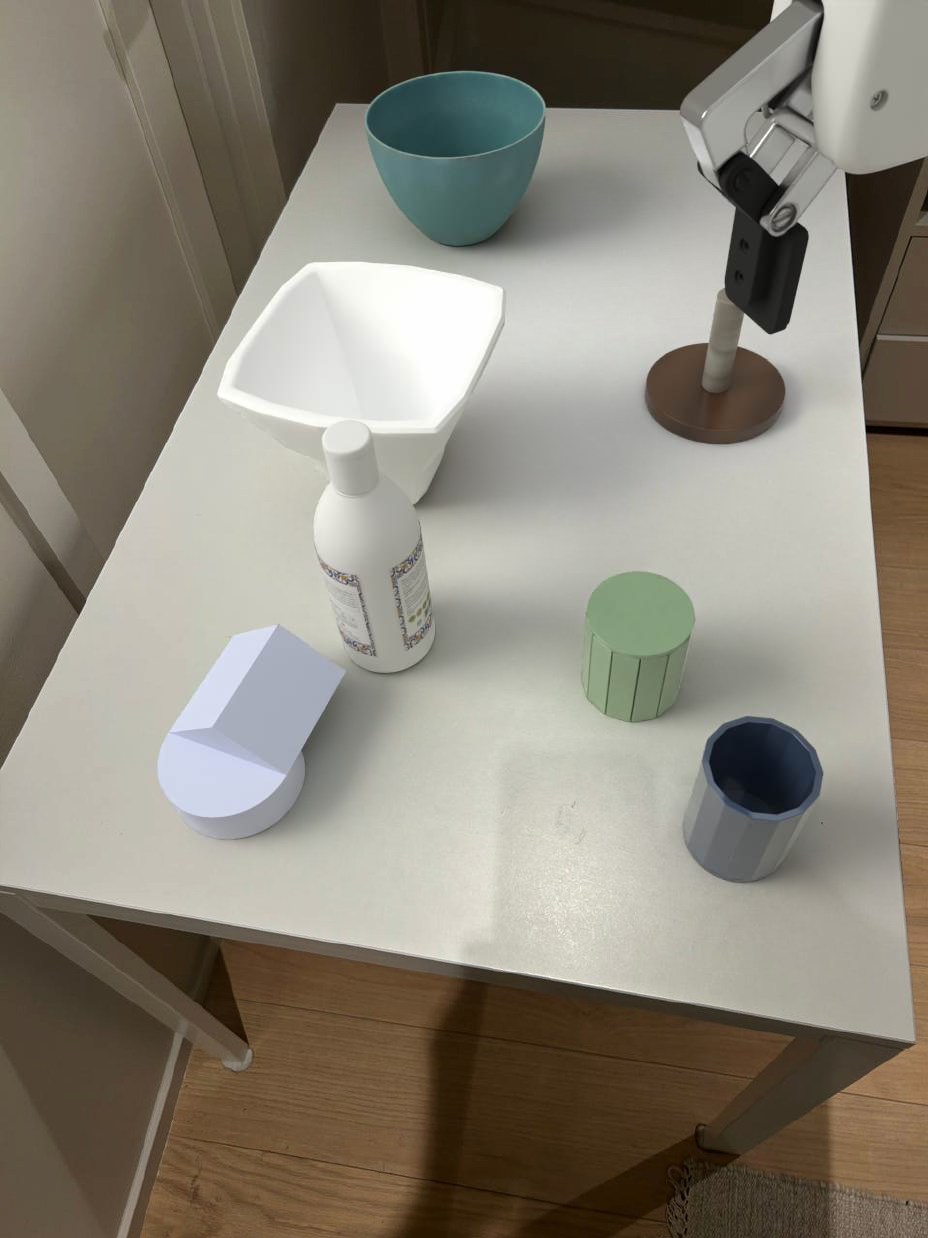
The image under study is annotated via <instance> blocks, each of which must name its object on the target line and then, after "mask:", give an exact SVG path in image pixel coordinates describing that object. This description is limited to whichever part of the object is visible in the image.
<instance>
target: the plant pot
mask: <svg viewBox="0 0 928 1238" xmlns="http://www.w3.org/2000/svg"><path fill="white" fill-rule="evenodd" d="M546 115H547V106H546V102H545V100H544V98H543V97H542V95H541V94H540V93H539V92H538V90H536V89H535V88H533V86H531V85H529V84H527V83H526V82H523V81H521V80H519V79H517V78H515V77H511V76H508V75H504V74H499V73H495V72H488V71H487V72H486V71H476V70H456V71H444V72H436V73H433V74H432V73H430V74H426V75H421V76H417V77H413V78H410V79H408V80H404V81H401V82H400V83H397V84H395V85H393V86H391V87H389V88H387V89H386V90H384V91H383V92H381V93H380V94H379V95H377V96H376V97H375V98H374V99H373V100H372V101H371V102H370V104H369V105H368V107H367V108H366V110H365V113H364V118H363V119H364V127H365V133H366V138H367V142H368V145H369V149H370V153H371V156H372V158H373V161H374V164H375V166H376V169H377V172H378V174H379V176H380V178H381V180H382V182H383V184H384V187H385V188H386V190H387V192H388V194H389V196H390V198H391V199H392V200H393V202H394V203H395V205H396V206H397V208H399V211H401V213H402V214H403V215H404V216H405V217H406V219H408V220H409V221H410V222H411V224H413V226H415V227H416V228H417V229H418V230H419V231H420V232H421V233H422V234H424V235H425V236H426V237H428V238H429V239H431V240H432V241H434V242H436V243H437V244H438V243H439V244H442V245H445V246H452V247H453V246H454V247H463V246H470V245H476V244H479V243H482V242H484V241H485V240H488V239H489V238H491V237H492V236H494V235H495V234H496V233H497V232H498V231H499V230H500V229H501V228H502V226H503V225H504V224H505V223H506V222H507V221H508V220H509V218H510V217H511V215H512V214H513V213H514V212H515V210H516V208H517V207H518V206H519V205H520V203H521V200H522V199H523V198H524V196H525V194H526V192H527V190H528V187H529V186H530V183H531V180H532V177H533V176H534V173H535V171H536V167H537V164H538V161H539V157H540V153H541V149H542V146H543V145H542V144H543V140H544V135H545V134H544V132H545V127H546V118H547V116H546Z"/></svg>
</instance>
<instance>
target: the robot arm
mask: <svg viewBox="0 0 928 1238" xmlns="http://www.w3.org/2000/svg"><path fill="white" fill-rule="evenodd" d="M760 109H761V114H762V117H763V118H764V119H765V120H764V121H763V123H762V124H761V126H760V127H759V128H758V130H757V131H756V133H755V134H754V135H753V137H752V138H751V139H750V141H749V142H748V138H747V127H748V124H749V122H750V120H751V118H752V117H753V116H754V115H755V114H756V112H758V111H759V110H760ZM679 118H680V121H681V123H682V126H683V129H684V131H685V134H686V136H687V139H688V142H689V145H690V147H691V150H692V152H693V154H694V156H695V157H696V158H697V162H696V166H697V171H698V173H699V174H700V175H701V176H702V177H703V178H704V179H705V180H706V181H707V182H708V183H709V184H710V185H711V186H712V187H713V188H714V189H716V190H717V191H718V192H719V194H721V196H722V197H723V199H724V200H726V201H727V202H728V203H729V204H731V205H732V206H733V207H734V208H735V209H734V216H733V223H732V229H731V234H730V235H731V236H730V240H729V241H730V242H729V247H728V248H729V249H728V253H727V259H726V260H727V261H726V267H725V271H724V272H725V273H724V283H723V284H724V288H725V293H726V296H727V298H728V299H729V300H730V301H731V302H732V303H734V304H735V305H736V306H737V307H738V308H739V309H740V310H741V311H743V312H744V315H746V316H747V317H748V318H749V319H750V320H751V321H752V322H754V323H755V325H757V326H758V327H759V328H761V330H763V331H764V332H765V333H766V334H767V335H771V336H772V335H774V334H777V333H780V332H782V331H785V330H786V329H787V328H788V327H787V326H788V325H789V324H790V322H791V319H792V314H793V309H794V305H795V300H796V297H797V291H798V287H799V283H800V279H801V274H802V271H803V265H804V261H805V256H806V253H807V249H808V244H809V240H810V234H809V231H808V229H807V228H806V227H805V226H804V225H802V224H801V223H800V222H798V221H799V220H800V219H801V217H802V216H803V215H804V214H805V212H806V211H807V209H808V208H809V207H810V205H812V203H813V202H814V201H815V199H816V198H817V196H818V195H819V194H820V193H821V191H822V190H823V189H824V188H825V186H826V185H827V183H828V182H829V181H830V180H831V178H833V176H834V174H835V173H836V172H837V170H838V169H839V170H841V171H842V172H844V173H848V174H851V175H867V174H873V173H876V172H877V173H878V172H882V171H884V170H889V169H892V168H894V167H897V166H901V165H904V164H907V163H910V162H914V161H916V160H917V161H918V160H920V159H923V158H926V157H928V0H773V6H772V11H771V17H770V21H769V23H768V24H767V25H765V26H764V27H763V28H762V29H761V30H760V31H758V32H757V33H756V34H755V35H753V36H752V37H751V39H749V40H748V41H747V42H746V43H745V44H743V45H742V46H741V47H740V48H739V49H738V50H736V51H735V52H734V53H733V54H732V55H731V56H730V57H728V59H726V60H725V61H724V62H723V63H722V64H720V65H719V67H717V68H715V70H714V71H712V72H711V74H709V75H708V76H707V77H705V79H703V80H702V81H701V82H700V83H699V84H698V85H696V86H695V87H694V88H693V89H692V90H690V92H688V94H687V95H686V96H685V97H684V98H683V100H682V102H681V104H680V108H679ZM795 142H797V143H799V144H800V145H802V146H803V147H805V148H806V149H805V150H804V151H803V153H802V154H801V155H800V156H799V158H798V159H797V161H796V162H795V163H794V165H793V166H792V167H791V169H790V170H789V171H788V173H787V174H786V175H785V177H784V178H783V179H782V181H781V182H780V184H779V183H777V182H776V181H775V180H774V179H773V178H772V176H771V175H772V174H773V172H774V171H775V169H776V168H777V167H778V165H780V162H781V161H782V160H783V159H784V157H785V156H786V154H788V152H789V150H790V149H791V148H792V146H793V145H794V143H795Z"/></svg>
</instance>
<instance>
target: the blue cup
mask: <svg viewBox="0 0 928 1238" xmlns="http://www.w3.org/2000/svg"><path fill="white" fill-rule="evenodd" d="M823 778H824V769H823V767H822V764H821V761H820V758H819V755H818V752H817V749H816V748H815V747H814V746H813V745H812V744H811V743H810V742H809V740H808V739H807V738H805V737H804V735H802V733H801V732H800V731H799V730H797V729H796V728H794V727H792V726H790V725H787V724H786V723H784V722H782V721H779V720H777V719H775V718H772V717H763V716H762V717H761V716H751V715H747V716H742V717H739V718H736V719H733V720H729V721H726V722H724V723H721V725H720V726H719V727H718V728H717V729H716V730H715V731H714V732H713V733H712V734H710V736H709V737H708V738H707V739H706V743H705V746H704V749H703V753H702V756H701V759H700V763H699V766H698V769H697V772H696V775H695V779H694V782H693V786H692V789H691V793H690V796H689V800H688V802H687V806H686V810H685V813H684V817H683V821H682V833H683V838H684V839H683V840H684V843H685V845H686V847H687V850H688V852H689V853H690V855H691V856H692V858H693V859H694V860H695V862H697V864H698V865H699V866H700V867H701V868H703V869H704V870H705V871H706V872H708V873H709V874H711V875H713V876H715V877H717V878H719V879H722V880H724V881H729V882H732V883H733V882H734V883H752V882H756V881H759V880H762V879H764V878H767V877H768V876H770V875H772V874H773V873H774V872H775V871H776V870H777V869H778V868H779V867H780V865H781V864H782V862H783V861H784V860H785V859H786V858H787V856H788V854H789V852H790V850H791V849H792V847H793V845H794V843H795V841H796V840H797V837H799V834H800V832H801V831H802V828H803V827H804V825H805V823H806V821H807V819H808V817H809V815H810V814H811V812H812V810H813V809H814V807H815V805H816V803H817V801H818V800H819V797H820V795H821V789H822V786H823V785H822V784H823Z"/></svg>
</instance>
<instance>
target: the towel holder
mask: <svg viewBox="0 0 928 1238" xmlns="http://www.w3.org/2000/svg"><path fill="white" fill-rule="evenodd" d="M714 305H715V306H714V312H713V317H712V321H711V326H710V327H711V328H710V333H709V337H708V342H699V343H691V344H688V345H684V346H680V347H677V348H675V349H672V350H670V351H668V352H667V353H665V354H663V355H662V356H661V357H659V358H658V359H657V360H656V361H655V362H654V363H653V365H652V366H651V367H650V369H649V371H648V373H647V377H646V381H645V391H644V401H645V404H646V408H647V410H648V412H649V413H650V415H651V417H652V418H653V419H654V420H655V421H656V422H657V423H658V424H659V425H660V426H661V427H663V428H664V429H666V430H667V431H669V432H670V433H672V434H674V435H675V436H679V437H681V438H684V439H686V440H690V441H693V442H697V443H704V444H713V445H714V444H715V445H723V444H724V445H726V444H727V445H728V444H736V443H739V442H744V441H747V440H750V439H753V438H755V437H758V436H760V435H762V434H763V433H765V432H766V431H768V430H769V429H770V428H771V427H772V426H773V425H774V424H775V423H776V422H777V420H778V419H779V417H780V415H781V412H782V409H783V406H784V402H785V398H786V384H785V381H784V378H783V376H782V374H781V372H780V371H779V370H778V368H776V366H775V365H774V364H773V363H772V362H770V361H769V360H768V359H766V358H765V357H764V356H762V355H761V354H759V353H757V352H754V351H753V350H751V349H747V348H745V347H742V346H739V341H740V337H741V332H742V327H743V322H744V317H745V313H744V312H743V311H741V310H740V309H739V308H738V307H737V306H736V305H735V304H734V303H732V302H731V301H730V300H729V299H728V298H727V296H726V293H725V287H724V288H721V289H720V290H719V291H718V292H717V294H716V298H715V303H714Z"/></svg>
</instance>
